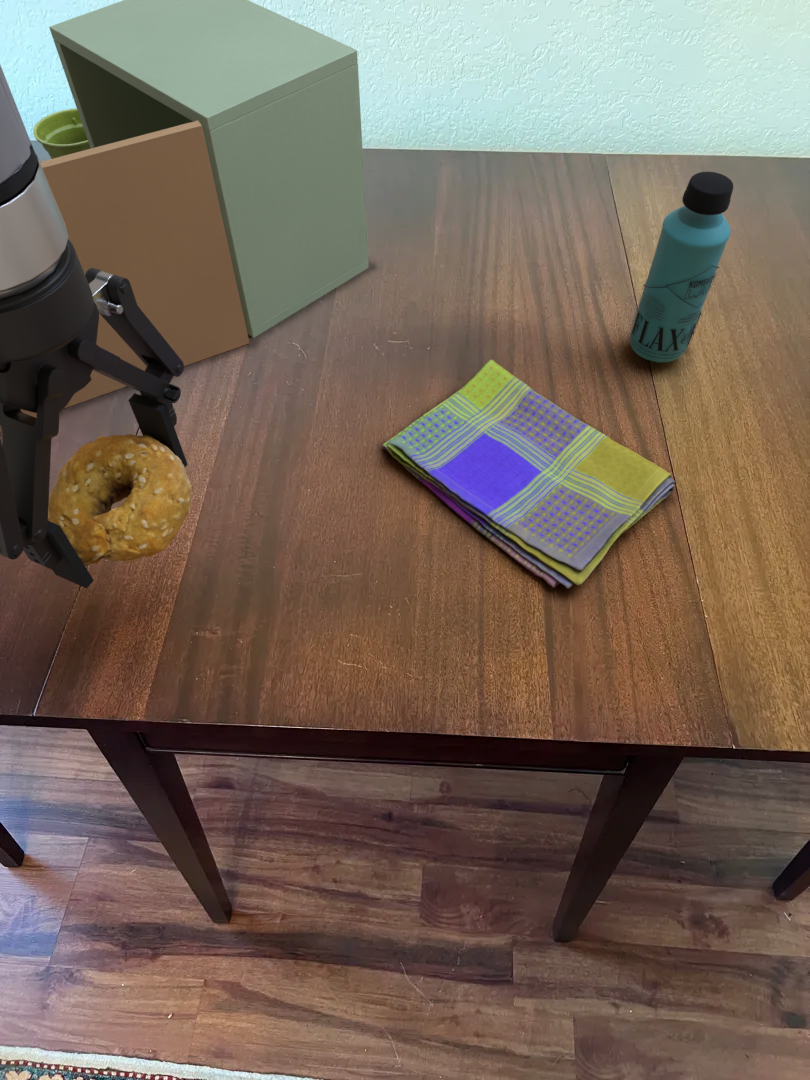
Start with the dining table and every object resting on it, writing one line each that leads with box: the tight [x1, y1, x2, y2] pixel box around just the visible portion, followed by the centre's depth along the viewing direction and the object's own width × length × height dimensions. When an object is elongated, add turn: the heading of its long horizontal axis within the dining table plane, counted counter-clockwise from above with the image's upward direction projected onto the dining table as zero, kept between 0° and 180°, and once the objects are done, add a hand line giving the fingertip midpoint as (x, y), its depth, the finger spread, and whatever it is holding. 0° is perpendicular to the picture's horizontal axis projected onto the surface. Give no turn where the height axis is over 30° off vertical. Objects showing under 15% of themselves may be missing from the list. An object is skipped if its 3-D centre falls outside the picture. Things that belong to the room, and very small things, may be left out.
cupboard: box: [48, 0, 370, 339], centre depth 87 cm, size 18×26×24 cm
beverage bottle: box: [628, 171, 734, 363], centre depth 78 cm, size 6×7×20 cm
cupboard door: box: [20, 121, 250, 418], centre depth 72 cm, size 8×26×24 cm, turn 119°
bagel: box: [48, 433, 192, 567], centre depth 56 cm, size 10×11×5 cm
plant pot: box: [32, 107, 91, 159], centre depth 102 cm, size 9×9×9 cm
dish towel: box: [381, 359, 676, 589], centre depth 75 cm, size 18×24×3 cm
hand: (125, 517), depth 57 cm, fingers closed on bagel, 11 cm apart
